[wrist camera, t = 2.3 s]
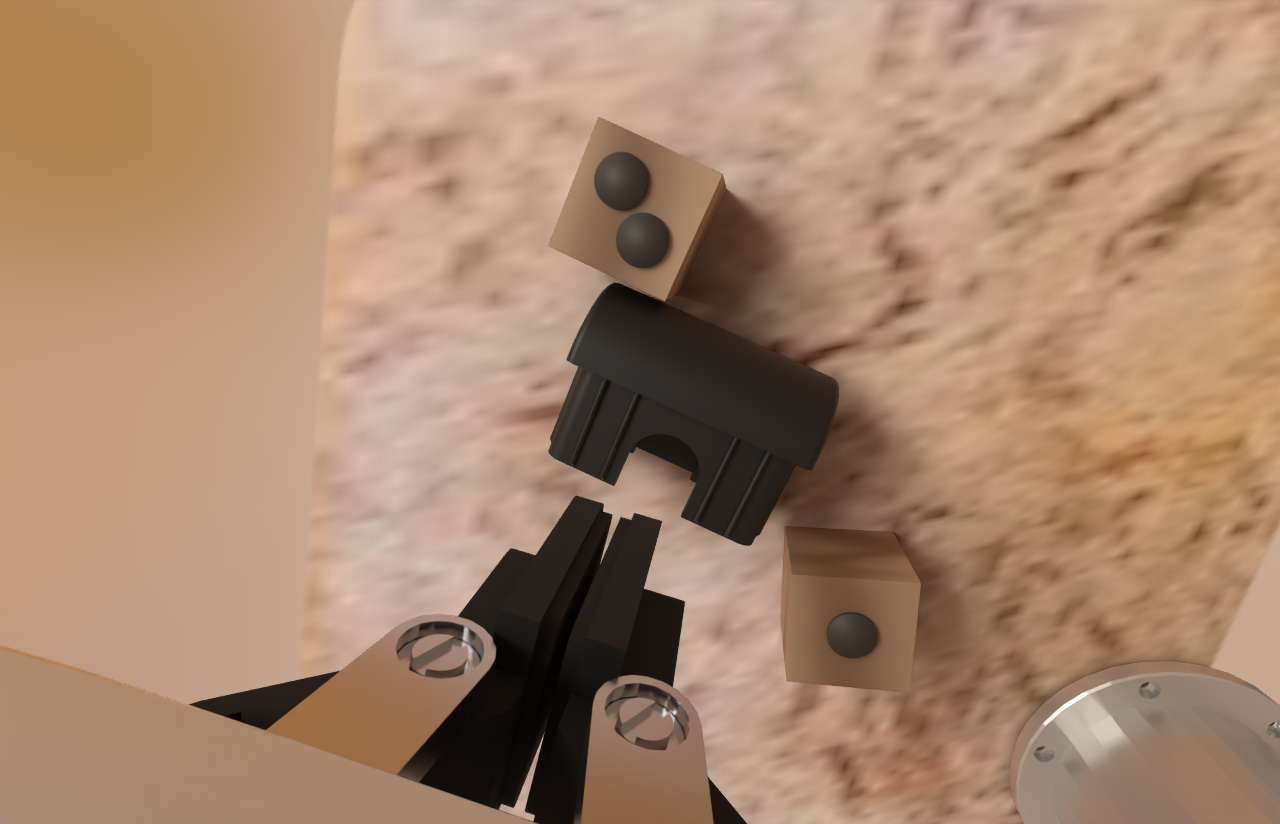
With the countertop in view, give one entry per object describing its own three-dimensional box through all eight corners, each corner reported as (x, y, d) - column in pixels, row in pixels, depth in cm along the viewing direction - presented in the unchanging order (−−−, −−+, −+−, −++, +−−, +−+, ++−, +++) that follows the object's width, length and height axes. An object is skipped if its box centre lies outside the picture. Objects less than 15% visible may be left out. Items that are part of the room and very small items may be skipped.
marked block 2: (892, 531, 30) (922, 585, 25) (884, 626, 31) (911, 695, 26) (784, 525, 31) (792, 576, 26) (780, 618, 32) (787, 684, 27)
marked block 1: (726, 189, 28) (722, 173, 23) (677, 294, 29) (663, 301, 24) (623, 141, 28) (597, 115, 23) (580, 248, 29) (546, 245, 24)
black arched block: (828, 366, 29) (852, 397, 22) (760, 498, 31) (764, 562, 24) (627, 277, 29) (594, 282, 23) (573, 413, 31) (528, 453, 25)
